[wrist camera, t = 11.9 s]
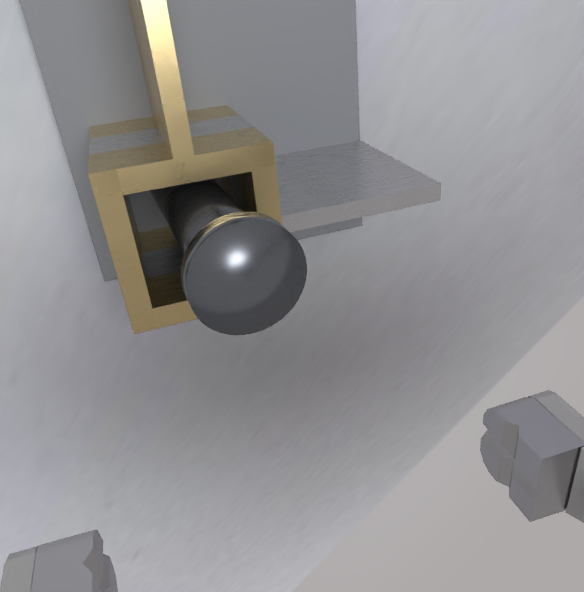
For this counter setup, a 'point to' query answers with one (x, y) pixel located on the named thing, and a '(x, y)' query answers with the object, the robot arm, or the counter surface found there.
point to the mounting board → (200, 78)
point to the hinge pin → (232, 259)
